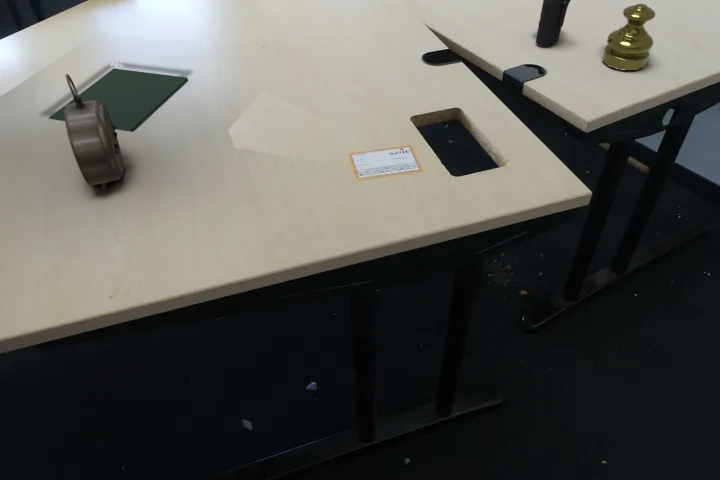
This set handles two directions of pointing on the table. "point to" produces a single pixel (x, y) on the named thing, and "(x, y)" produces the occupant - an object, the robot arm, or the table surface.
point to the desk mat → (129, 96)
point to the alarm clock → (93, 140)
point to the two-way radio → (551, 21)
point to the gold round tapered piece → (630, 40)
